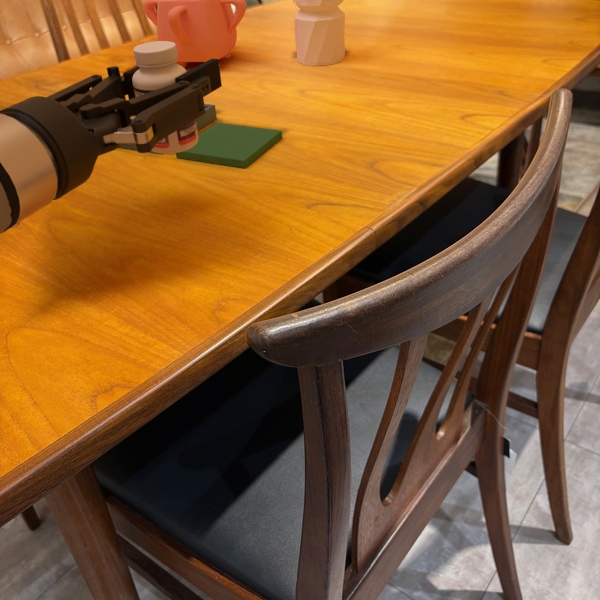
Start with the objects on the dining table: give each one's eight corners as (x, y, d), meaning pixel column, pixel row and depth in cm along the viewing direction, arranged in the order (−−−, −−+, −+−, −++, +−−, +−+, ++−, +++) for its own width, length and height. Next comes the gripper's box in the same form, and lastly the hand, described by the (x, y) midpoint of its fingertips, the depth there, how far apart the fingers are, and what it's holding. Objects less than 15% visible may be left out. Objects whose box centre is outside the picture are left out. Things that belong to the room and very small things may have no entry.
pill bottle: (194, 131, 66) (178, 35, 60) (203, 149, 62) (187, 48, 56) (143, 139, 65) (122, 43, 59) (150, 159, 61) (128, 57, 55)
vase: (298, 67, 106) (294, -9, 98) (294, 54, 113) (290, -19, 105) (349, 63, 106) (348, -14, 99) (341, 50, 113) (340, -23, 106)
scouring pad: (176, 157, 77) (175, 150, 77) (218, 129, 84) (217, 122, 84) (245, 168, 74) (244, 160, 73) (282, 137, 81) (281, 130, 80)
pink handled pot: (182, 80, 104) (168, -5, 96) (145, 61, 114) (129, -17, 107) (265, 59, 111) (258, -21, 103) (223, 44, 122) (214, -31, 114)
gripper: (-41, 185, 53) (129, 97, 69) (130, 222, 46) (273, 115, 62) (-78, 99, 48) (113, 26, 65) (105, 125, 41) (267, 37, 58)
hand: (191, 70), depth 63 cm, fingers closed on pill bottle, 5 cm apart
